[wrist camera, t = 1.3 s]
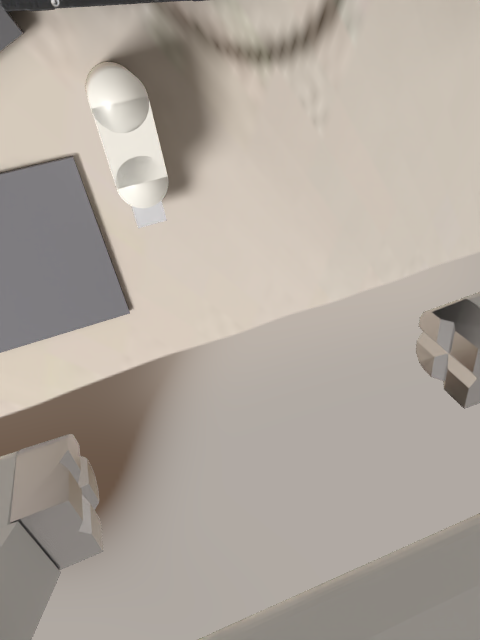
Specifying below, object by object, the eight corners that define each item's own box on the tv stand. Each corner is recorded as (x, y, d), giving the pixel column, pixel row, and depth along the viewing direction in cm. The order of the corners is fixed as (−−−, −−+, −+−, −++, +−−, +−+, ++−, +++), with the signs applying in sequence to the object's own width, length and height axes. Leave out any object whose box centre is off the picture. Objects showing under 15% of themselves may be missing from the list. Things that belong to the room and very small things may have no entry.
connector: (129, 57, 30) (140, 63, 26) (167, 204, 36) (180, 227, 32) (77, 67, 29) (80, 75, 26) (125, 215, 36) (133, 240, 32)
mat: (72, 156, 32) (72, 157, 32) (129, 310, 41) (129, 313, 40) (-106, 198, 30) (-108, 200, 30) (-7, 352, 39) (-8, 354, 38)
